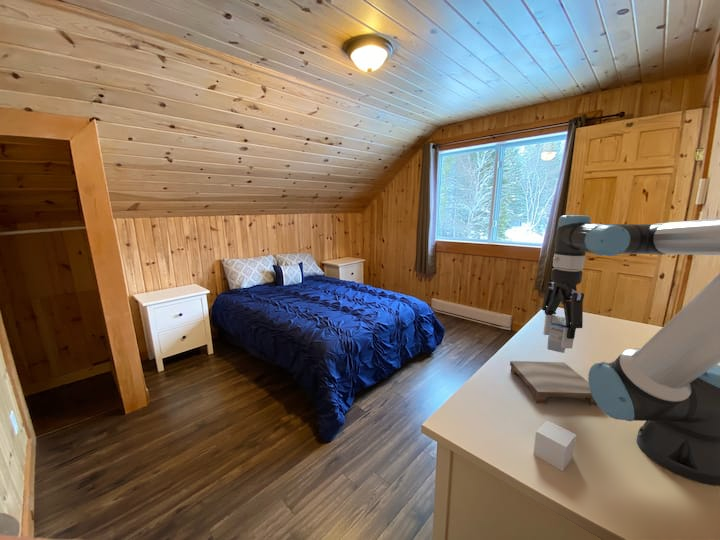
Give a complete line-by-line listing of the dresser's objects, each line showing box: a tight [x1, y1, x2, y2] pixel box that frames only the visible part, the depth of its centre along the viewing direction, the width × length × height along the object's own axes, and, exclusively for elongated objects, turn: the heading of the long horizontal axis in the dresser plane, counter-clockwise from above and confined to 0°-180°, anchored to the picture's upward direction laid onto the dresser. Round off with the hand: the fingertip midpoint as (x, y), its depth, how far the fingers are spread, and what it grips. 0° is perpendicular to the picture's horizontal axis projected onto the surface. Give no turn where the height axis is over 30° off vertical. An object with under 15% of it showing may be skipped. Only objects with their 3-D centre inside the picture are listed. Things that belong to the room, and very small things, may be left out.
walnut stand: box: [509, 360, 598, 406], centre depth 96 cm, size 18×18×4 cm
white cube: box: [533, 420, 577, 472], centre depth 69 cm, size 6×6×6 cm
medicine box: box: [547, 315, 566, 354], centre depth 93 cm, size 8×4×9 cm, turn 147°
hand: (556, 340), depth 94 cm, fingers closed on medicine box, 9 cm apart
